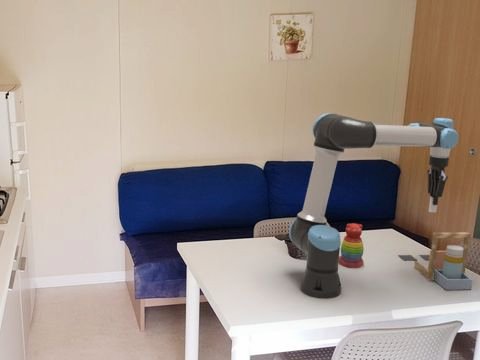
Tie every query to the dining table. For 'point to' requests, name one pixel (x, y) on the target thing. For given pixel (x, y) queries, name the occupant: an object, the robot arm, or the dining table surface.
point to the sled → (443, 281)
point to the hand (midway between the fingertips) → (432, 211)
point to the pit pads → (411, 258)
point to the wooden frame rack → (430, 272)
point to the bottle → (453, 262)
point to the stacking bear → (352, 247)
